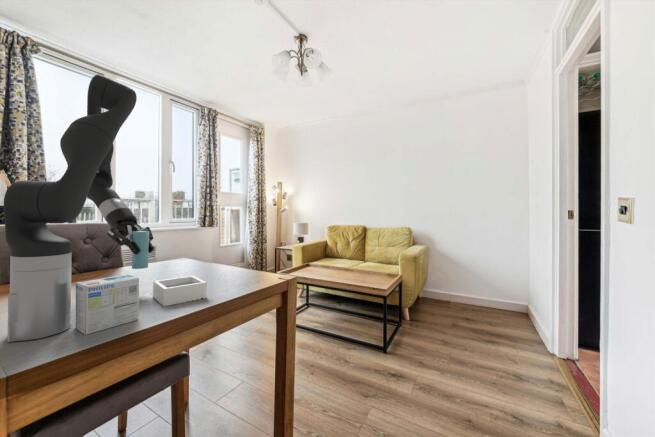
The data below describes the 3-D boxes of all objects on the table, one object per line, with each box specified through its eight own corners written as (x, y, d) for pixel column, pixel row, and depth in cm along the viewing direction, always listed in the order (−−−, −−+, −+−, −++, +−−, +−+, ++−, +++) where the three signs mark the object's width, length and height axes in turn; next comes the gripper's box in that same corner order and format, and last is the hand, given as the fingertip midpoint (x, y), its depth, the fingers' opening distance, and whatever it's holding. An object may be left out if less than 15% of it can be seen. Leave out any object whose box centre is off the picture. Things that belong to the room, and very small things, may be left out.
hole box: (163, 306, 77) (164, 289, 77) (153, 296, 85) (153, 281, 85) (206, 297, 85) (206, 282, 85) (192, 289, 94) (193, 275, 94)
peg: (133, 269, 85) (134, 231, 85) (130, 267, 88) (131, 231, 88) (149, 267, 88) (150, 231, 88) (146, 266, 91) (147, 231, 91)
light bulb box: (127, 314, 70) (127, 273, 70) (139, 320, 67) (140, 277, 67) (73, 328, 61) (74, 281, 61) (84, 336, 58) (85, 286, 58)
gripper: (101, 205, 83) (131, 246, 80) (143, 208, 97) (169, 242, 94) (88, 222, 85) (117, 262, 82) (131, 222, 98) (157, 256, 95)
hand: (145, 251), depth 88 cm, fingers closed on peg, 4 cm apart
